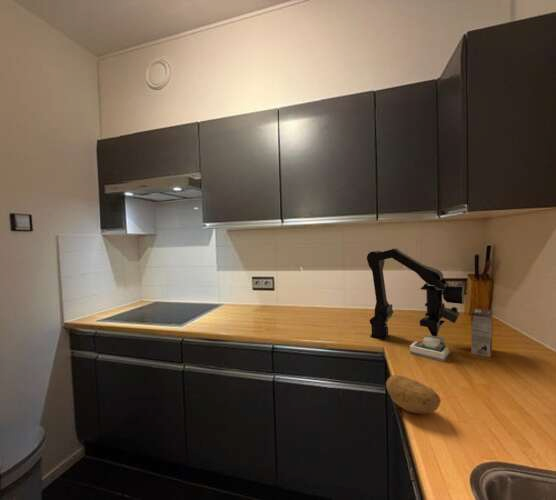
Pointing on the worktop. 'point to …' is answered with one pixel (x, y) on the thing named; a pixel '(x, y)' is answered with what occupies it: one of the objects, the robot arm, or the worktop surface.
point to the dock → (429, 352)
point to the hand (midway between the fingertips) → (435, 338)
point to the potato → (412, 395)
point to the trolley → (433, 343)
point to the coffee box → (481, 332)
